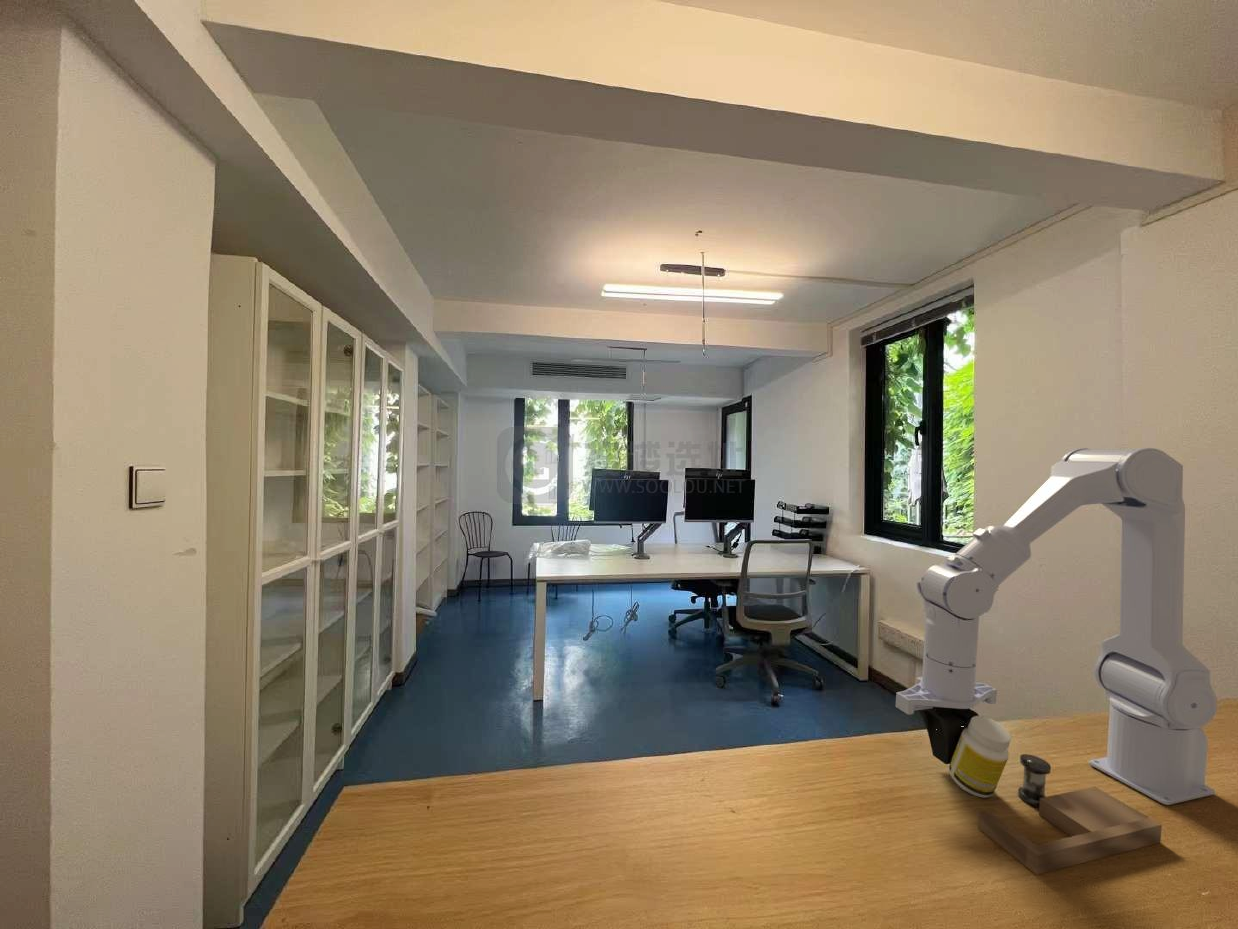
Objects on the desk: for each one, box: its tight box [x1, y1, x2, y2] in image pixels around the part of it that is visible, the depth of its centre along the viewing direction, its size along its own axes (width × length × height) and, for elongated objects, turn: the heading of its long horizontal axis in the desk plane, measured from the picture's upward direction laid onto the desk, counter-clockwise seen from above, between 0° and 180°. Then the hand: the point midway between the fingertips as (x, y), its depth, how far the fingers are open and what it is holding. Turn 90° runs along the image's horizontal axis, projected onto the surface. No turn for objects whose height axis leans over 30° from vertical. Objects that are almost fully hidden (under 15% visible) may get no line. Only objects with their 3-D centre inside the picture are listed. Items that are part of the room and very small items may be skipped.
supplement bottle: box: [948, 715, 1012, 798], centre depth 59 cm, size 5×5×8 cm
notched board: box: [977, 786, 1163, 876], centre depth 53 cm, size 18×6×2 cm, turn 105°
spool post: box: [1017, 753, 1052, 809], centre depth 58 cm, size 3×3×5 cm
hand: (943, 759), depth 63 cm, fingers closed
